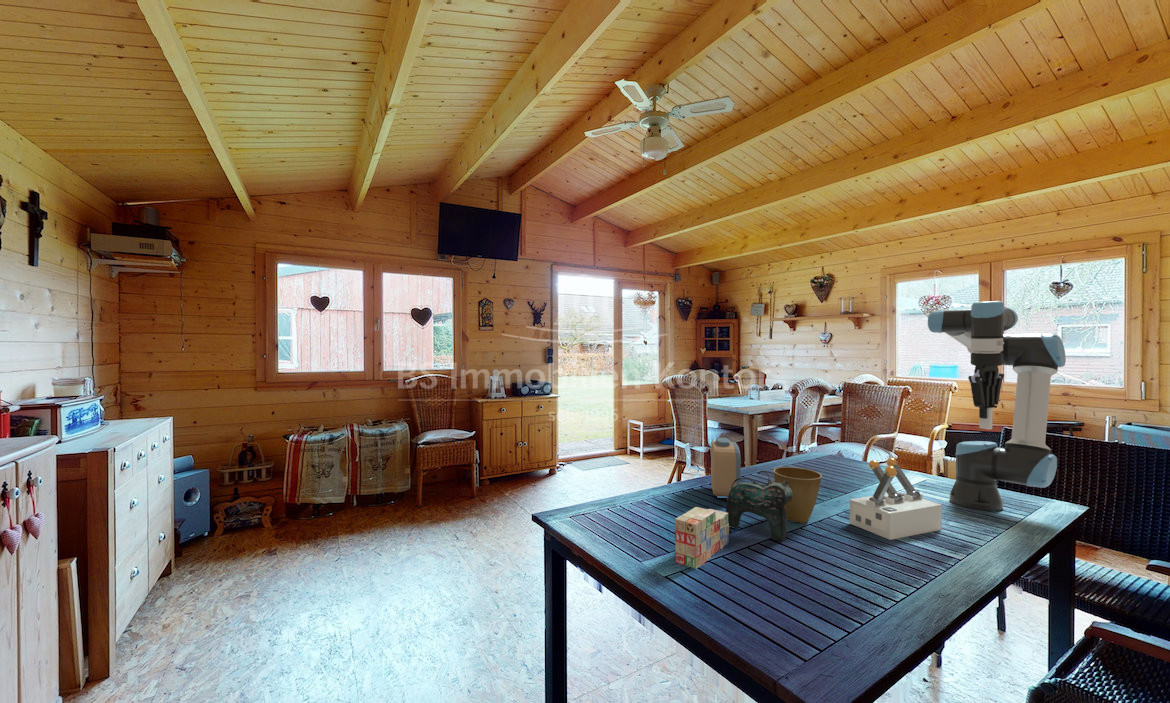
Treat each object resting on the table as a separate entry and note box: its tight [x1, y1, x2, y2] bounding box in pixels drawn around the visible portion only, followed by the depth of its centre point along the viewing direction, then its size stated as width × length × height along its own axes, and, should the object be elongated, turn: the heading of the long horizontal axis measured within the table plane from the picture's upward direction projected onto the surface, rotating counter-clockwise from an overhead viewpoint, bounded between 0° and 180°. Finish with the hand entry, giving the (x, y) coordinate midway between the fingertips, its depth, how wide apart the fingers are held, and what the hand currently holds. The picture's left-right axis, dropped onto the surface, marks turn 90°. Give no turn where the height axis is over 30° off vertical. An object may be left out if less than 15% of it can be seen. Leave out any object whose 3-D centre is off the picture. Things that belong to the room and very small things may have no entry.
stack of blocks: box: [674, 506, 730, 570], centre depth 132 cm, size 21×6×12 cm, turn 140°
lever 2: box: [885, 457, 921, 498], centre depth 158 cm, size 3×3×14 cm
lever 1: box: [869, 465, 897, 504], centre depth 146 cm, size 3×3×14 cm
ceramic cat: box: [725, 470, 792, 542], centre depth 146 cm, size 20×6×20 cm, turn 47°
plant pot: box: [772, 466, 823, 524], centre depth 158 cm, size 15×15×16 cm
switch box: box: [849, 491, 943, 541], centre depth 151 cm, size 24×14×10 cm, turn 110°
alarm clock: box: [710, 437, 742, 497], centre depth 185 cm, size 21×10×22 cm, turn 168°
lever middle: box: [868, 459, 902, 501], centre depth 155 cm, size 3×3×14 cm
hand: (985, 428), depth 143 cm, fingers closed
